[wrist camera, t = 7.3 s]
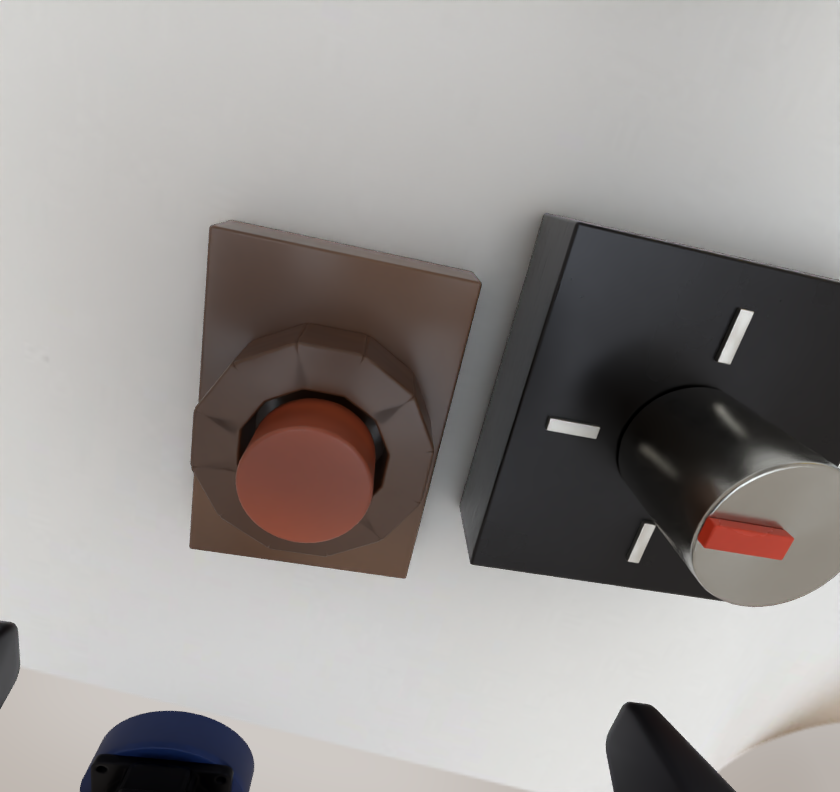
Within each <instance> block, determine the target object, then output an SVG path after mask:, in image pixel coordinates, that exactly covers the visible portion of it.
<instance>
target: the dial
mask: <svg viewBox="0 0 840 792" xmlns="http://www.w3.org/2000/svg"><path fill="white" fill-rule="evenodd" d="M619 468H620V472H621V475H622V477H623V479H624V481H625V483H626V484H627V486H628V487H629V488H630V490H631V491H632V492H633V494H634V495H635V497H636V498H637V499H638V501H639V502H640V503H641V505H642V506H643V507H644V509H645V510H646V511H647V513H648V514H649V515H650V517H651V518H652V519H653V521H654V522H655V524H656V525H657V526H658V528H659V529H660V530H661V532H662V533H663V534H664V536H665V537H666V538H667V540H668V541H669V542H670V544H671V545H672V547H673V548H674V549H675V551H676V552H677V553H678V555H679V556H680V557H681V559H682V560H683V561H684V563H685V564H686V565H687V567H688V568H689V570H690V571H691V572H692V574H693V575H694V576H695V578H696V579H697V580H698V582H699V583H700V584H701V585H702V586H703V587H704V588H705V590H706V591H708V592H709V593H711V594H712V595H713V596H715V597H717V598H719V599H721V600H723V601H725V602H728V603H731V604H735V605H740V606H749V607H763V606H771V605H777V604H781V603H785V602H789V601H792V600H795V599H797V598H800V597H802V596H805V595H807V594H809V593H811V592H812V591H814V590H816V589H818V588H819V587H821V586H823V585H824V584H826V583H827V582H828V581H830V580H831V579H832V578H834V577H835V576H836V575H837V574H838V573H839V572H840V468H838V467H837V466H835V465H834V464H832V463H831V462H829V461H828V460H826V459H825V458H823V457H822V456H820V455H819V454H817V453H816V452H814V451H813V450H811V449H810V448H808V447H807V446H805V445H804V444H802V443H801V442H799V441H798V440H796V439H795V438H793V437H792V436H790V435H789V434H787V433H786V432H784V431H783V430H781V429H780V428H778V427H777V426H775V425H774V424H772V423H771V422H769V421H768V420H766V419H765V418H763V417H762V416H760V415H759V414H757V413H756V412H754V411H753V410H751V409H750V408H748V407H747V406H745V405H744V404H742V403H741V402H739V401H738V400H736V399H735V398H733V397H732V396H730V395H728V394H727V393H724V392H722V391H720V390H716V389H712V388H705V387H692V388H684V389H680V390H676V391H673V392H670V393H667V394H665V395H663V396H661V397H659V398H657V399H656V400H654V401H652V402H651V403H650V404H648V405H647V406H646V407H644V408H643V409H642V410H641V411H640V412H639V413H638V414H637V415H636V416H635V418H634V419H633V420H632V421H631V423H630V424H629V426H628V427H627V429H626V431H625V433H624V435H623V437H622V440H621V443H620V448H619Z"/></svg>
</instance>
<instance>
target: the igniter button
mask: <svg viewBox="0 0 840 792" xmlns="http://www.w3.org/2000/svg"><path fill="white" fill-rule="evenodd" d="M375 459H376V451H375V445H374V441H373V438H372V435H371V433H370V431H369V429H368V428H367V426H366V425H365V424H364V422H363V421H362V420H361V419H360V418H359V417H358V416H357V415H356V414H355V413H353V412H352V411H350V410H349V409H348V408H346V407H344V406H342V405H340V404H338V403H335V402H332V401H329V400H325V399H317V398H305V399H297V400H293V401H290V402H287V403H284V404H282V405H280V406H278V407H277V408H275V409H274V410H272V411H271V412H270V413H269V414H268V415H267V416H266V417H265V418H264V419H263V420H262V421H261V423H260V424H259V426H258V428H257V430H256V431H255V433H254V435H253V437H252V439H251V441H250V442H249V444H248V446H247V448H246V450H245V452H244V454H243V455H242V457H241V459H240V461H239V464H238V467H237V471H236V490H237V494H238V497H239V501H240V503H241V505H242V507H243V509H244V510H245V512H246V513H247V515H248V516H249V517H250V518H251V519H252V521H254V522H255V523H256V524H257V525H258V526H259V527H261V528H262V529H263V530H265V531H266V532H268V533H270V534H272V535H274V536H276V537H278V538H281V539H284V540H288V541H293V542H299V543H316V542H323V541H327V540H331V539H334V538H337V537H339V536H341V535H343V534H345V533H346V532H348V531H349V530H351V529H352V528H353V527H354V526H355V525H357V524H358V523H359V521H360V520H361V519H362V518H363V517H364V515H365V514H366V512H367V510H368V508H369V506H370V503H371V500H372V496H373V487H374V473H375Z"/></svg>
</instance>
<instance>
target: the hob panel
mask: <svg viewBox="0 0 840 792" xmlns="http://www.w3.org/2000/svg"><path fill="white" fill-rule="evenodd" d="M692 387H705V388H712V389H716V390H720V391H722V392H724V393H727V394H728V395H730V396H732V397H733V398H735V399H736V400H738V401H739V402H741V403H742V404H744V405H745V406H747V407H748V408H750V409H751V410H753V411H754V412H756V413H757V414H759V415H760V416H762V417H763V418H765V419H766V420H768V421H769V422H771V423H772V424H774V425H775V426H777V427H778V428H780V429H781V430H783V431H784V432H786V433H787V434H789V435H790V436H792V437H793V438H795V439H796V440H798V441H799V442H801V443H802V444H804V445H805V446H807V447H808V448H810V449H811V450H813V451H814V452H816V453H817V454H819V455H820V456H822V457H823V458H825V459H826V460H828V461H829V462H831V463H832V464H834V465H835V466H837V467H838V465H839V464H840V281H839V280H834V279H830V278H826V277H821V276H817V275H813V274H809V273H804V272H800V271H796V270H791V269H787V268H783V267H778V266H774V265H770V264H765V263H761V262H757V261H753V260H748V259H744V258H740V257H735V256H731V255H727V254H722V253H718V252H714V251H709V250H705V249H701V248H697V247H692V246H688V245H684V244H679V243H675V242H671V241H666V240H662V239H658V238H653V237H649V236H645V235H641V234H636V233H632V232H628V231H623V230H619V229H615V228H610V227H606V226H602V225H597V224H593V223H589V222H585V221H580V220H576V219H572V218H567V217H563V216H559V215H554V214H550V213H545V214H544V216H543V219H542V222H541V226H540V229H539V233H538V236H537V240H536V243H535V247H534V250H533V254H532V257H531V261H530V264H529V267H528V271H527V274H526V278H525V281H524V285H523V288H522V292H521V295H520V299H519V302H518V306H517V309H516V313H515V316H514V319H513V323H512V326H511V330H510V333H509V337H508V340H507V344H506V347H505V351H504V354H503V358H502V361H501V365H500V368H499V371H498V375H497V378H496V382H495V385H494V389H493V392H492V396H491V399H490V403H489V406H488V410H487V413H486V417H485V420H484V423H483V427H482V430H481V434H480V437H479V441H478V444H477V448H476V451H475V455H474V458H473V462H472V465H471V469H470V472H469V476H468V479H467V482H466V486H465V489H464V493H463V496H462V500H461V503H460V512H461V517H462V522H463V527H464V532H465V538H466V543H467V548H468V553H469V559H470V563H471V564H472V565H479V566H485V567H492V568H499V569H506V570H513V571H520V572H526V573H533V574H540V575H547V576H554V577H561V578H568V579H574V580H581V581H588V582H595V583H602V584H609V585H615V586H622V587H629V588H636V589H643V590H650V591H657V592H663V593H670V594H677V595H684V596H691V597H698V598H704V599H711V600H718V601H723V600H721V599H719V598H717V597H715V596H713V595H712V594H711V593H709V592H708V591H706V590H705V588H704V587H703V586H702V585H701V584H700V583H699V582H698V580H697V579H696V578H695V576H694V575H693V574H692V572H691V571H690V570H689V568H688V567H687V565H686V564H685V563H684V561H683V560H682V559H681V557H680V556H679V555H678V553H677V552H676V551H675V549H674V548H673V547H672V545H671V544H670V542H669V541H668V540H667V538H666V537H665V536H664V534H663V533H662V532H661V530H660V529H659V528H658V526H657V525H656V524H655V522H654V521H653V519H652V518H651V517H650V515H649V514H648V513H647V511H646V510H645V509H644V507H643V506H642V505H641V503H640V502H639V501H638V499H637V498H636V497H635V495H634V494H633V492H632V491H631V490H630V488H629V487H628V486H627V484H626V483H625V481H624V479H623V477H622V475H621V472H620V468H619V448H620V443H621V440H622V437H623V435H624V433H625V431H626V429H627V427H628V426H629V424H630V423H631V421H632V420H633V419H634V418H635V416H636V415H637V414H638V413H639V412H640V411H641V410H642V409H643V408H644V407H646V406H647V405H648V404H650V403H651V402H652V401H654V400H656V399H657V398H659V397H661V396H663V395H665V394H667V393H670V392H673V391H676V390H680V389H684V388H692Z"/></svg>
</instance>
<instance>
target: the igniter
mask: <svg viewBox="0 0 840 792" xmlns="http://www.w3.org/2000/svg"><path fill="white" fill-rule="evenodd" d="M481 286H482V284H481V282H480V281H479V279H478V278H477V277H476V275H475V274H474V273H473V272H471V271H467V270H462V269H457V268H453V267H448V266H443V265H439V264H434V263H429V262H425V261H420V260H415V259H411V258H406V257H402V256H397V255H392V254H388V253H383V252H378V251H374V250H369V249H364V248H360V247H355V246H350V245H346V244H341V243H336V242H332V241H327V240H322V239H318V238H313V237H308V236H304V235H299V234H294V233H290V232H285V231H280V230H276V229H271V228H266V227H262V226H257V225H252V224H248V223H243V222H238V221H234V220H228V221H225V222H221V223H218V224H214V225H211V226H210V228H209V243H208V258H207V274H206V290H205V306H204V322H203V338H202V354H201V370H200V386H199V402H198V404H197V406H196V407H195V410H194V413H193V430H192V447H191V466H192V467H191V468H192V471H193V472H194V481H193V497H192V513H191V529H190V545H189V546H190V548H191V549H197V550H204V551H212V552H219V553H226V554H233V555H240V556H247V557H254V558H261V559H268V560H276V561H283V562H290V563H297V564H304V565H311V566H318V567H325V568H333V569H340V570H347V571H354V572H361V573H368V574H375V575H382V576H389V577H397V578H406V576H407V572H408V568H409V564H410V560H411V556H412V553H413V549H414V545H415V541H416V537H417V533H418V529H419V526H420V522H421V518H422V514H423V510H424V506H425V502H426V498H427V495H428V491H429V487H430V483H431V479H432V475H433V471H434V468H435V464H436V460H437V456H438V452H439V448H440V444H441V441H442V437H443V433H444V429H445V425H446V421H447V417H448V413H449V410H450V406H451V402H452V398H453V394H454V390H455V386H456V383H457V379H458V375H459V371H460V367H461V363H462V359H463V356H464V352H465V348H466V344H467V340H468V336H469V332H470V328H471V325H472V321H473V317H474V313H475V309H476V305H477V301H478V298H479V294H480V290H481ZM305 398H317V399H325V400H329V401H332V402H335V403H338V404H340V405H342V406H344V407H346V408H348V409H349V410H350V411H352V412H353V413H355V414H356V415H357V416H358V417H359V418H360V419H361V420H362V421H363V422H364V424H365V425H366V426H367V428H368V429H369V431H370V433H371V435H372V438H373V441H374V445H375V451H376V459H375V473H374V487H373V496H372V500H371V503H370V506H369V508H368V510H367V512H366V514H365V515H364V517H363V518H362V519H361V520H360V521H359V523H358V524H357V525H355V526H354V527H353V528H352V529H351V530H349V531H348V532H346V533H345V534H343V535H341V536H339V537H337V538H334V539H331V540H327V541H323V542H316V543H299V542H293V541H288V540H284V539H281V538H278V537H276V536H274V535H272V534H270V533H268V532H266V531H265V530H263V529H262V528H261V527H259V526H258V525H257V524H256V523H255V522H254V521H252V519H251V518H250V517H249V516H248V515H247V513H246V512H245V510H244V509H243V507H242V505H241V503H240V501H239V497H238V494H237V490H236V471H237V467H238V464H239V461H240V459H241V457H242V455H243V454H244V452H245V450H246V448H247V446H248V444H249V442H250V441H251V439H252V437H253V435H254V433H255V431H256V430H257V428H258V426H259V424H260V423H261V421H262V420H263V419H264V418H265V417H266V416H267V415H268V414H269V413H270V412H271V411H272V410H274V409H275V408H277V407H278V406H280V405H282V404H284V403H287V402H290V401H293V400H297V399H305Z"/></svg>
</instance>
